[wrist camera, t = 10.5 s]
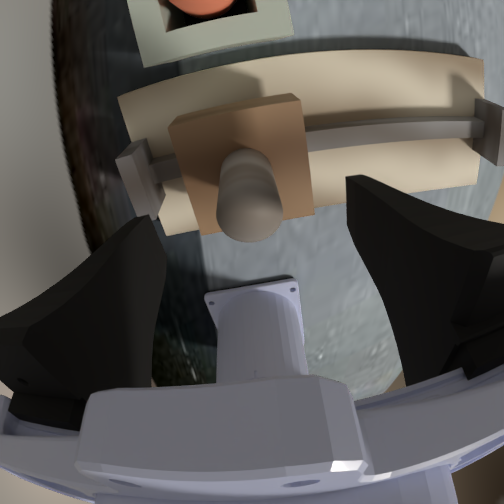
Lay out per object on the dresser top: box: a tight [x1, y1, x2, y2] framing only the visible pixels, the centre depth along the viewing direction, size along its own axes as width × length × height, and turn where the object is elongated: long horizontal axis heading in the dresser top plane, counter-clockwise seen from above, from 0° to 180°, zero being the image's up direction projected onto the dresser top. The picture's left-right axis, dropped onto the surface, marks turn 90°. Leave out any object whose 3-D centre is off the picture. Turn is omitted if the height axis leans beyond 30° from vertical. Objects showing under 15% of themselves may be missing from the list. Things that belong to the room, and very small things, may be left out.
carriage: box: [167, 93, 315, 242], centre depth 14 cm, size 6×6×6 cm
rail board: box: [115, 49, 504, 236], centre depth 16 cm, size 10×24×4 cm, turn 101°
